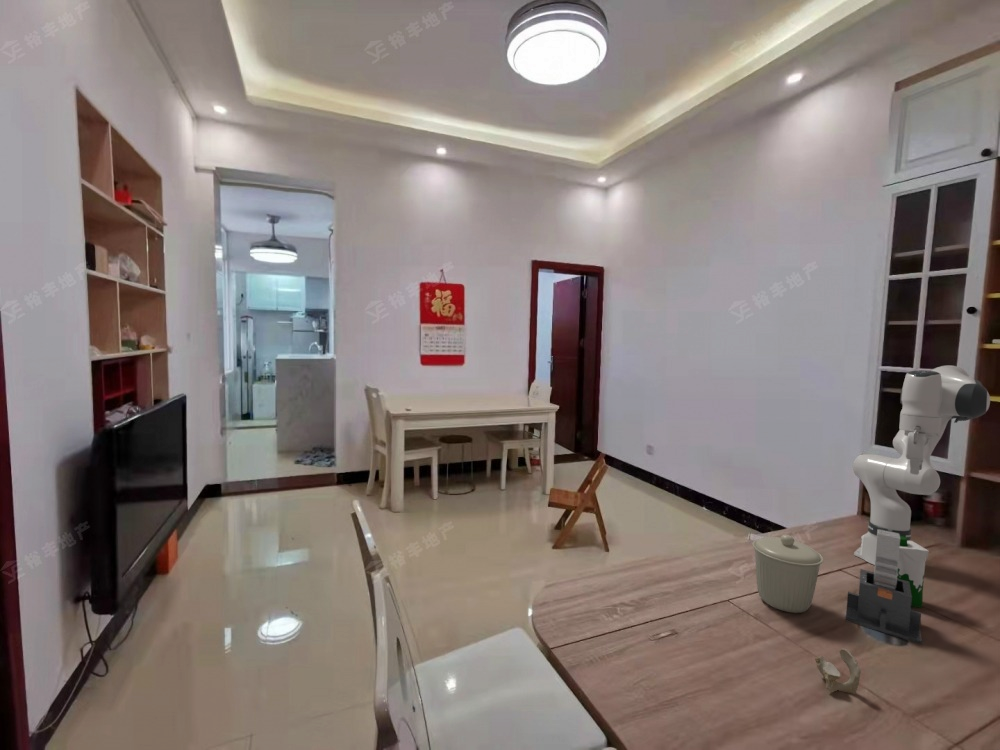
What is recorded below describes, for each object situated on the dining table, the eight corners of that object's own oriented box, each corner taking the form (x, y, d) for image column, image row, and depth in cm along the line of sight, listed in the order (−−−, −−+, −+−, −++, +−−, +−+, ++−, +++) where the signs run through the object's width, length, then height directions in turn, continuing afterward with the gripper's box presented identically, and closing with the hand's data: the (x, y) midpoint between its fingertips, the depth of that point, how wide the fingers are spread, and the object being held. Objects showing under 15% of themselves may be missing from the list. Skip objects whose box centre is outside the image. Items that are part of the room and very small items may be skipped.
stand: (847, 597, 141) (850, 563, 141) (917, 618, 131) (920, 581, 131) (845, 620, 129) (848, 582, 128) (921, 644, 119) (925, 604, 118)
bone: (802, 674, 104) (818, 633, 106) (811, 679, 107) (827, 639, 109) (845, 702, 97) (862, 657, 99) (854, 706, 100) (870, 663, 102)
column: (871, 608, 133) (877, 528, 132) (892, 614, 130) (899, 533, 129) (871, 617, 129) (877, 534, 128) (893, 623, 126) (900, 539, 125)
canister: (812, 596, 141) (817, 530, 140) (826, 628, 125) (831, 553, 124) (747, 582, 149) (750, 519, 148) (751, 610, 133) (756, 540, 131)
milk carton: (876, 591, 146) (881, 530, 145) (908, 594, 144) (913, 533, 143) (894, 605, 138) (899, 541, 136) (928, 610, 136) (934, 545, 135)
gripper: (931, 429, 124) (927, 479, 124) (936, 424, 138) (933, 469, 139) (900, 426, 129) (897, 474, 129) (908, 421, 143) (905, 465, 143)
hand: (916, 471), depth 134 cm, fingers open, 8 cm apart
